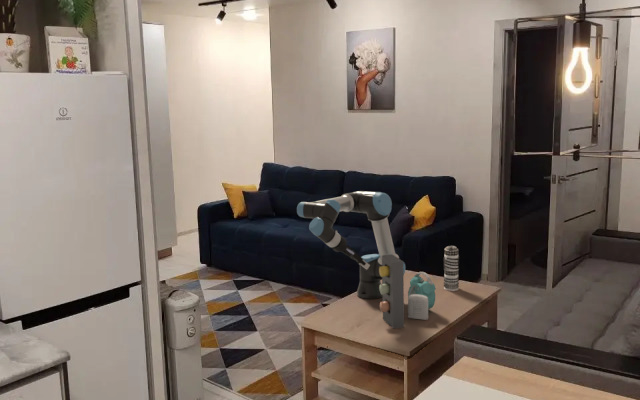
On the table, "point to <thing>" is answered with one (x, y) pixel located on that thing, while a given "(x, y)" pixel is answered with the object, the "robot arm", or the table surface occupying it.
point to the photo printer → (418, 307)
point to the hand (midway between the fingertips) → (367, 267)
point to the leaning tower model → (451, 268)
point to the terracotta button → (385, 306)
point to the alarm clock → (423, 288)
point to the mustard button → (384, 271)
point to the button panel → (394, 291)
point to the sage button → (384, 288)
